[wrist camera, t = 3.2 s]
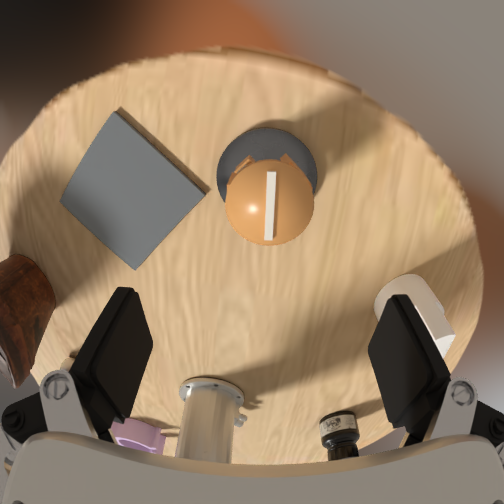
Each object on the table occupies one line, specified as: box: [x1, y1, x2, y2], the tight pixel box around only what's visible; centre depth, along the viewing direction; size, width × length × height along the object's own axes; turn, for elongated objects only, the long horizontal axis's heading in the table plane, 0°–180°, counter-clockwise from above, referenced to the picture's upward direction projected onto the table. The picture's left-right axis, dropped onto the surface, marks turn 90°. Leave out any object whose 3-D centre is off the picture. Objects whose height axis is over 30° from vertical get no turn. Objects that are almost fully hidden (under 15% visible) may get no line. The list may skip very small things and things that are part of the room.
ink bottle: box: [320, 411, 360, 461], centre depth 49 cm, size 10×9×12 cm
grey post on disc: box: [217, 128, 317, 202], centre depth 24 cm, size 10×10×8 cm
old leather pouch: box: [0, 255, 55, 388], centre depth 29 cm, size 18×20×18 cm
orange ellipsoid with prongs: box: [225, 153, 314, 246], centre depth 22 cm, size 6×6×6 cm
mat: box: [60, 111, 206, 270], centre depth 29 cm, size 14×14×1 cm
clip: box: [111, 418, 166, 455], centre depth 59 cm, size 20×12×7 cm, turn 87°
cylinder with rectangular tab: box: [374, 274, 456, 358], centre depth 30 cm, size 9×9×12 cm
